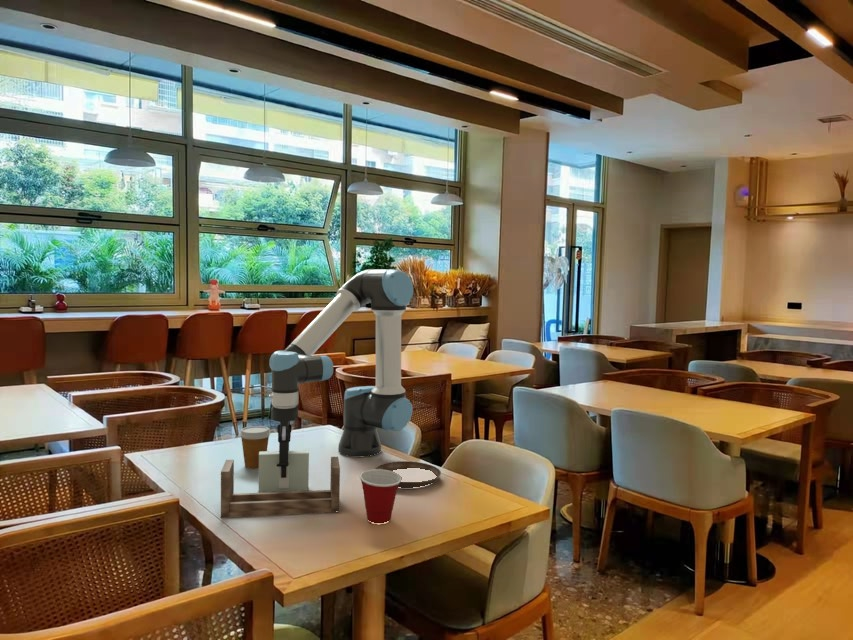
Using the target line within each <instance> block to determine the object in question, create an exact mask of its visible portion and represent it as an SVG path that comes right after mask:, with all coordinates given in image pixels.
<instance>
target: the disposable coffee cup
mask: <svg viewBox="0 0 853 640" xmlns="http://www.w3.org/2000/svg"><path fill="white" fill-rule="evenodd" d="M270 435H271V431H270V428H269V427H267V426H262V425H261V426H260V425H255V426H254V425H252V426H246V427H243V428H241V431H240V433H239V436H240V437H241V446H242V454H243V460H244V462H243V463H244V467H245V468H246V469H250V468H251V470H252V469H253V470H254V469H259V452H260V451H268V445H269V439H270V438H269V437H270Z"/></svg>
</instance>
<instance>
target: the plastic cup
mask: <svg viewBox="0 0 853 640" xmlns="http://www.w3.org/2000/svg"><path fill="white" fill-rule="evenodd" d="M359 479H360V481H361V486H362V491H363V498H364V506H365V511H366V519H367V521H368V520H369V521H371V522H374V523H384V522H387V521H389V520H390V521H391V520H392V514H393V510H394V505H395V501H396V495H397V491H398V486H399V483H400V482H401V480H402V477H401V476H400V475H399V474H397V473H395V472H393V471H389V470H382V469H375V468H374V469H367V470H364V471H362V472H361V473H360V475H359Z"/></svg>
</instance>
